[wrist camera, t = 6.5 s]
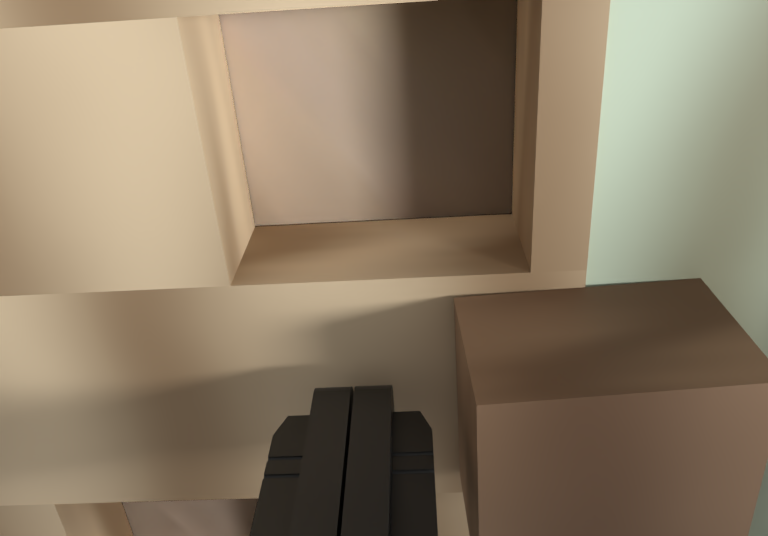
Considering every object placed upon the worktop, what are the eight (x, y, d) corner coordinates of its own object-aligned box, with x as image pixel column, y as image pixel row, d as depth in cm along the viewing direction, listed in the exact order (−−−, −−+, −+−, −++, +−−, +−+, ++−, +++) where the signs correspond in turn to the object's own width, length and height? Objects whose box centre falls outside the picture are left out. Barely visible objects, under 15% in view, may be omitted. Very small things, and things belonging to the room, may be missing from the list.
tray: (995, -91, 12) (1287, -73, 8) (789, 548, 20) (886, 715, 16) (-243, -6, 13) (-520, 46, 9) (27, 566, 21) (-60, 727, 17)
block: (700, 277, 13) (787, 381, 10) (670, 459, 15) (735, 584, 12) (453, 298, 13) (476, 406, 10) (460, 476, 15) (480, 602, 12)
